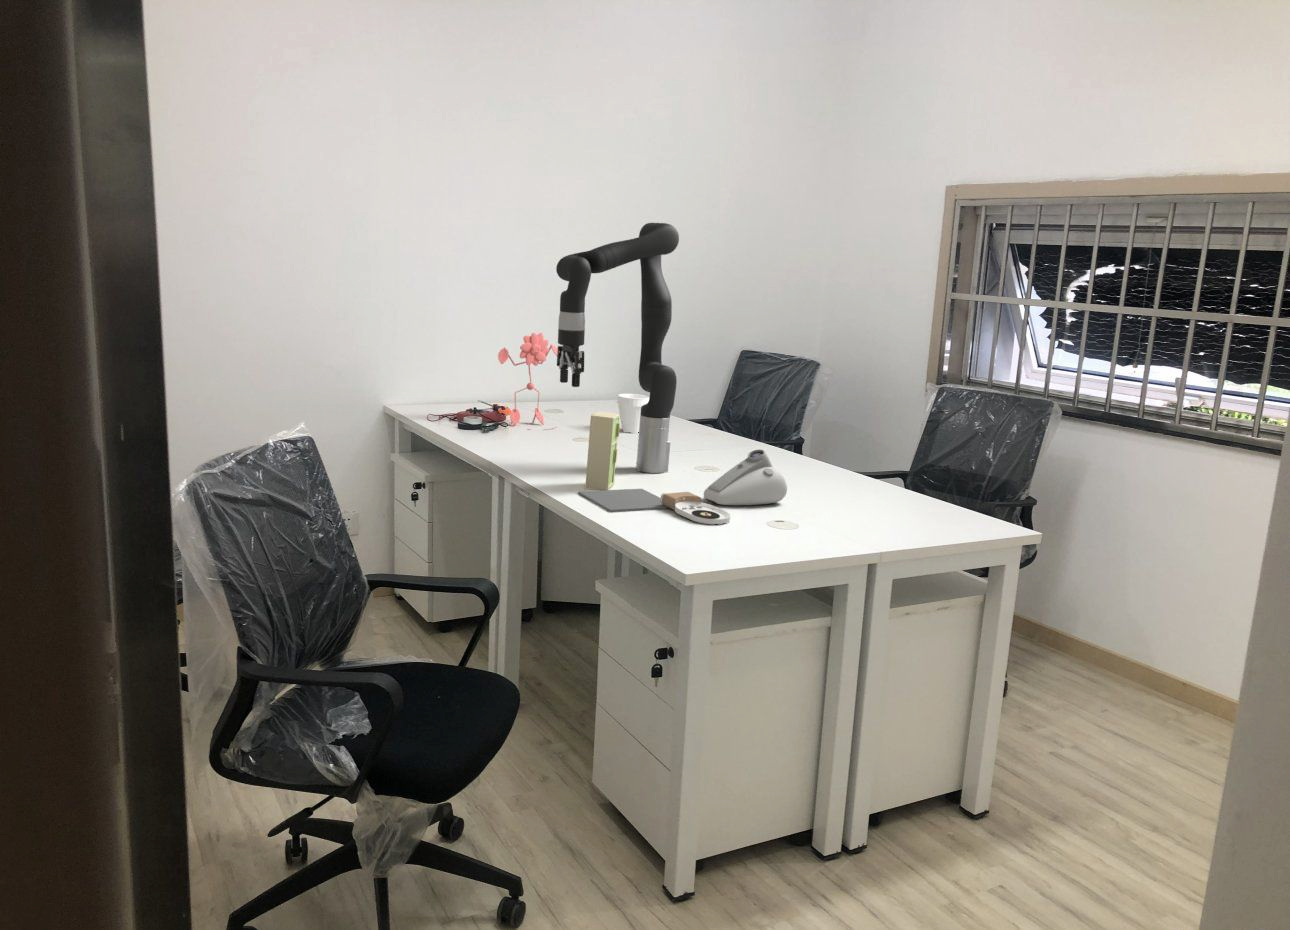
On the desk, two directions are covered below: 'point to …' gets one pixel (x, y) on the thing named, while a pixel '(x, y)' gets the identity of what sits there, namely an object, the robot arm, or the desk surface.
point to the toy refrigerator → (602, 450)
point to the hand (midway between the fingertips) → (569, 384)
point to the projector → (749, 483)
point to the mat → (624, 500)
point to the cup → (631, 410)
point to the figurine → (533, 353)
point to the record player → (694, 508)
